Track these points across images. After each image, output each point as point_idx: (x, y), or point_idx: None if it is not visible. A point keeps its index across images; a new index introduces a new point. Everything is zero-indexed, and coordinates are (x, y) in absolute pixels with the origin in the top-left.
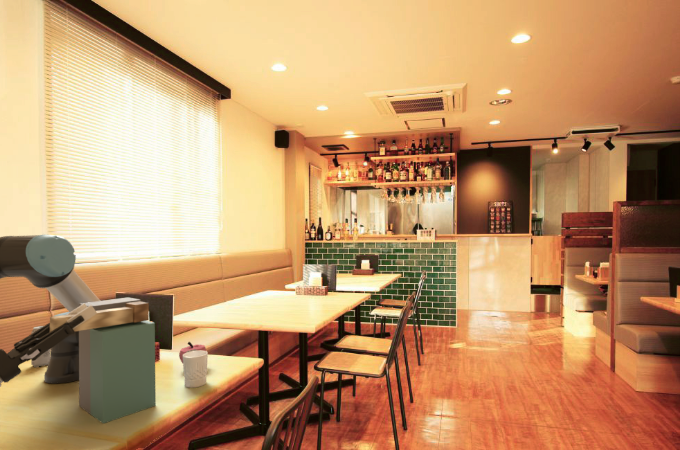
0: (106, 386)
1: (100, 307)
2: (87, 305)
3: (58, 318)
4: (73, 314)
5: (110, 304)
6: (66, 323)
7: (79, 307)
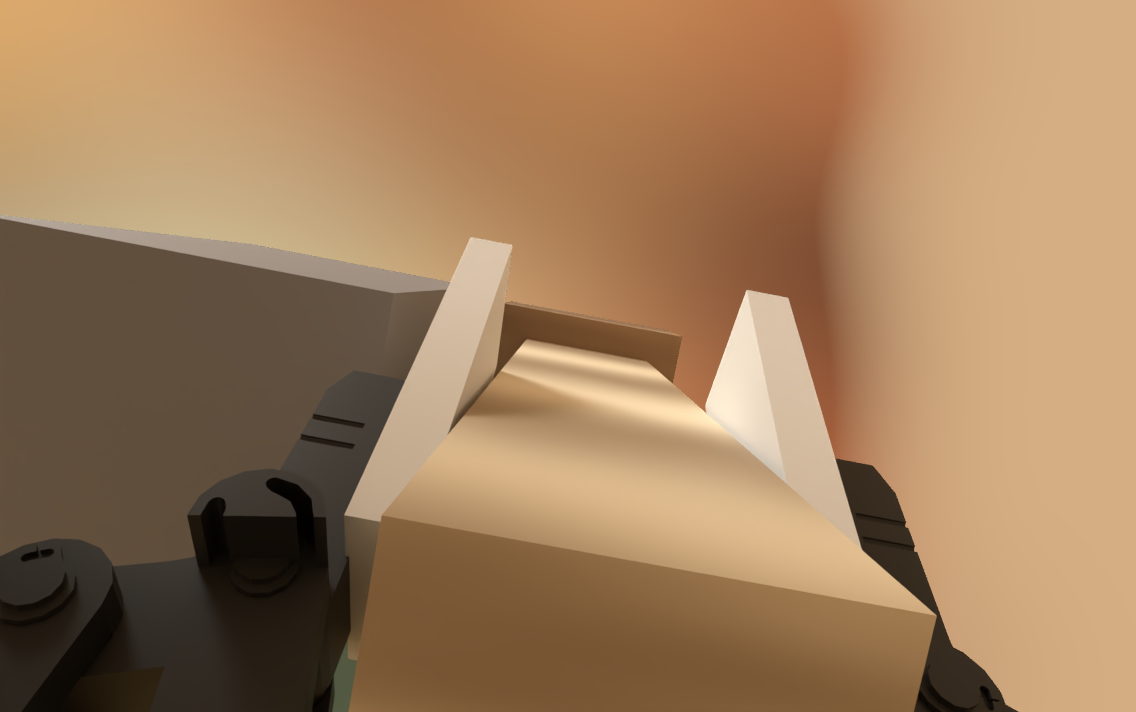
0: None
1: (416, 318)
2: (263, 267)
3: (884, 580)
4: (545, 418)
5: (437, 297)
6: (970, 680)
7: (497, 295)
